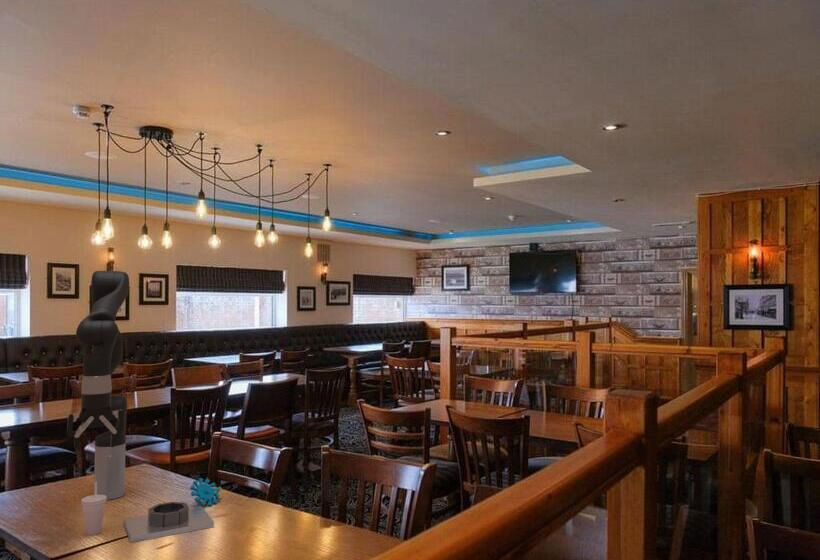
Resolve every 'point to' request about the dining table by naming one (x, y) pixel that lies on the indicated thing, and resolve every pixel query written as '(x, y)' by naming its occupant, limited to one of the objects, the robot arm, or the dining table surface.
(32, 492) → the dining table surface
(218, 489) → the gear
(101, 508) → the smoothie
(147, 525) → the hub plate
